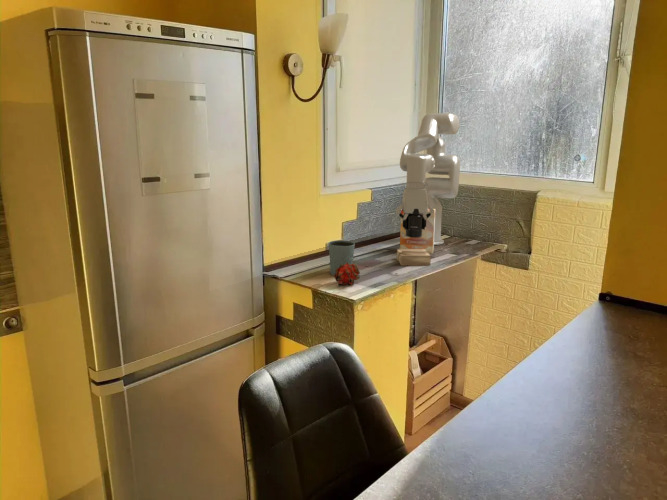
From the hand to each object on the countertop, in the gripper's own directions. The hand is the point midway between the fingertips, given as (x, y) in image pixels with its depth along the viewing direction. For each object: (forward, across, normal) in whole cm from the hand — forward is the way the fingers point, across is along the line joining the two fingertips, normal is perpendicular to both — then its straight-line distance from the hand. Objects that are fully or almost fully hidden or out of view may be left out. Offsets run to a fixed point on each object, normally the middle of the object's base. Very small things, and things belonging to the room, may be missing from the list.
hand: (414, 228), depth 217 cm
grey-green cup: (+15, +31, +15) cm, 37 cm away
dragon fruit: (+15, +30, +30) cm, 45 cm away
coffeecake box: (+14, -5, -18) cm, 24 cm away
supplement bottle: (+3, 0, 0) cm, 3 cm away
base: (+14, 0, 0) cm, 14 cm away
